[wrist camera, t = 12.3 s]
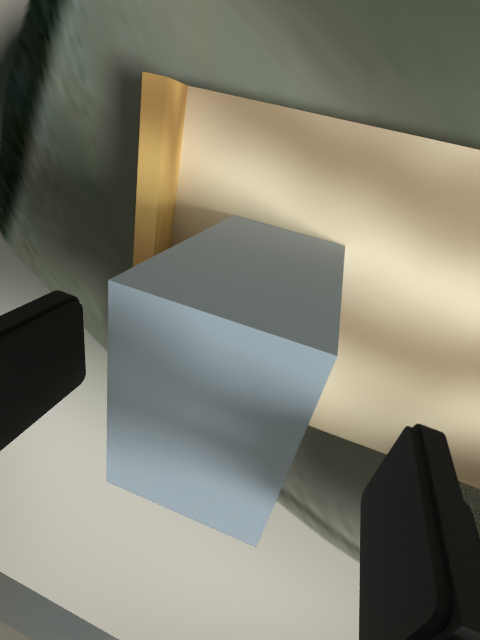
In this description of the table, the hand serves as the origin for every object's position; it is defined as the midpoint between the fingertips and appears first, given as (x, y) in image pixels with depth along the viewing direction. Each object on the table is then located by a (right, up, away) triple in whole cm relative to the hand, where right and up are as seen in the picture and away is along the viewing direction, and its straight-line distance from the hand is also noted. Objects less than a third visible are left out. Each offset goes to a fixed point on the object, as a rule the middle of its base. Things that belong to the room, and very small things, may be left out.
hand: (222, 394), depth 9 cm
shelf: (+6, +3, +7) cm, 10 cm away
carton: (+2, +3, +7) cm, 8 cm away
